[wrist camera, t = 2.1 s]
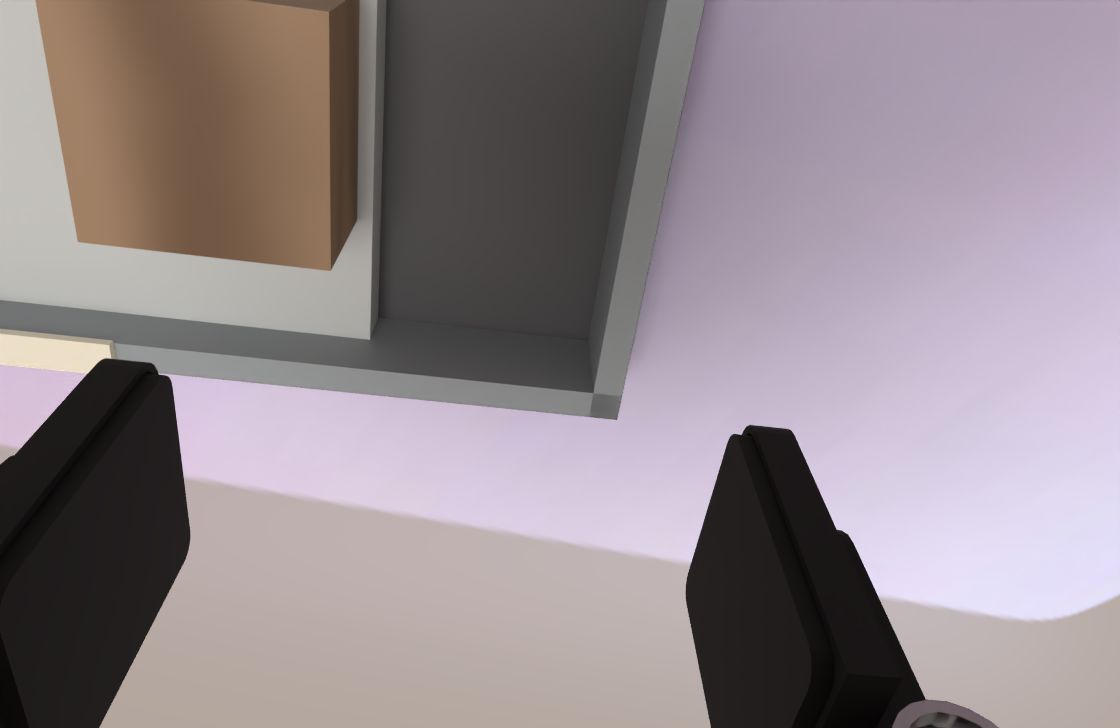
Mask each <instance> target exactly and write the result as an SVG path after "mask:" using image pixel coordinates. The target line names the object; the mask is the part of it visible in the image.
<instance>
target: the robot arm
mask: <svg viewBox="0 0 1120 728" xmlns="http://www.w3.org/2000/svg"><path fill="white" fill-rule="evenodd" d="M189 544H190V526H189V518H188V510H187V502H186V493H185V485H184V477H183V469H182V461H181V453H180V445H179V436H178V428H177V420H176V412H175V404H174V396H173V388H172V383H171V380H170V378H169V377H168V376H165V375H159V374H158V370H157V368H156V367H155V365H154V364H152V363H149V362H139V361H129V360H120V359H110V358H105V359H102V360H100V361H99V362H98V363H97V364H96V365H95V366H94V367H93V368H92V369H91V371H90V372H89V373H88V374H87V375H86V376H85V377H84V378H83V380H82V381H81V382H80V383H79V384H78V385H77V386H76V387H75V388H74V390H73V391H72V392H71V393H70V394H69V395H68V396H67V397H66V399H65V400H64V401H63V402H62V403H61V404H60V405H59V406H58V407H57V409H56V410H55V411H54V412H53V413H52V414H51V415H50V416H49V417H48V419H47V420H46V421H45V422H44V423H43V424H42V425H41V426H40V428H39V429H38V430H37V431H36V432H35V433H34V434H33V435H32V436H31V438H30V439H29V440H28V441H27V442H26V443H25V444H24V445H23V447H22V448H21V449H20V450H19V451H18V452H17V453H16V454H15V455H14V456H10V457H9V458H8V459H7V460H5V461H4V462H3V463H2V464H0V728H99V727H100V725H101V723H102V721H103V719H104V717H105V715H106V713H107V711H108V709H109V707H110V705H111V703H112V702H113V699H114V698H115V696H116V694H117V692H118V690H119V688H120V686H121V684H122V682H123V680H124V678H125V676H126V674H127V672H128V670H129V668H130V666H131V665H132V663H133V661H134V659H135V657H136V655H137V653H138V651H139V649H140V647H141V645H142V643H143V641H144V639H145V637H146V635H147V633H148V631H149V629H150V627H151V626H152V624H153V622H154V620H155V618H156V616H157V613H158V612H159V610H160V608H161V606H162V604H163V602H164V600H165V598H166V596H167V594H168V593H169V590H170V589H171V587H172V585H173V583H174V581H175V579H176V577H177V575H178V573H179V571H180V569H181V567H182V565H183V563H184V561H185V559H186V556H187V553H188V549H189ZM686 602H687V608H688V613H689V617H690V623H691V628H692V634H693V638H694V644H695V649H696V654H697V658H698V664H699V669H700V674H701V679H702V684H703V689H704V694H705V699H706V704H707V709H708V714H709V719H710V724H711V728H998V727H997V726H996V725H995V724H993V723H992V722H991V721H989V720H988V719H986V718H984V717H982V716H980V715H979V714H977V713H975V712H974V711H972V710H970V709H968V708H965V707H962V706H959V705H956V704H953V703H950V702H947V701H937V700H926V699H925V697H924V695H923V693H922V690H921V688H920V686H919V684H918V682H917V680H916V677H915V675H914V673H913V671H912V669H911V667H910V665H909V662H908V660H907V658H906V656H905V654H904V651H903V649H902V647H901V645H900V643H899V641H898V639H897V636H896V634H895V632H894V630H893V628H892V626H891V624H890V622H889V619H888V617H887V615H886V613H885V610H884V608H883V606H882V604H881V602H880V600H879V597H878V595H877V593H876V591H875V589H874V587H873V584H872V582H871V580H870V578H869V576H868V574H867V571H866V569H865V567H864V565H863V563H862V561H861V558H860V556H859V554H858V552H857V550H856V548H855V546H854V543H853V542H852V540H851V539H850V537H849V536H848V534H846V533H845V532H843V531H841V530H836V527H835V525H834V523H833V521H832V518H831V516H830V514H829V512H828V509H827V507H826V505H825V503H824V501H823V498H822V496H821V494H820V492H819V489H818V487H817V485H816V483H815V480H814V478H813V476H812V474H811V471H810V469H809V467H808V465H807V462H806V460H805V458H804V456H803V453H802V451H801V449H800V447H799V445H798V442H797V440H796V438H795V436H794V434H793V432H792V431H791V430H789V429H783V428H773V427H763V426H754V425H749V426H747V427H746V428H745V430H744V431H743V434H742V435H738V434H733V435H731V437H730V438H729V441H728V443H727V446H726V450H725V453H724V456H723V460H722V463H721V466H720V470H719V473H718V476H717V480H716V483H715V486H714V490H713V493H712V496H711V499H710V503H709V506H708V509H707V513H706V516H705V519H704V523H703V526H702V529H701V533H700V536H699V539H698V543H697V546H696V549H695V553H694V556H693V559H692V563H691V566H690V569H689V573H688V577H687V583H686Z"/></svg>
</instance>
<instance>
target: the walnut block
mask: <svg viewBox="0 0 1120 728" xmlns="http://www.w3.org/2000/svg"><path fill="white" fill-rule="evenodd" d="M35 1H36V7H37V13H38V18H39V24H40V30H41V35H42V41H43V47H44V52H45V58H46V64H47V69H48V75H49V81H50V86H51V92H52V98H53V104H54V109H55V115H56V121H57V126H58V132H59V138H60V143H61V149H62V155H63V160H64V166H65V172H66V177H67V183H68V189H69V195H70V200H71V206H72V212H73V217H74V223H75V229H76V234H77V240H78V242H81V243H89V244H98V245H107V246H116V247H124V248H133V249H142V250H151V251H159V252H168V253H177V254H186V255H194V256H203V257H212V258H220V259H229V260H238V261H247V262H255V263H264V264H273V265H282V266H290V267H299V268H308V269H317V270H325V271H331V270H332V268H333V266H334V264H335V262H336V260H337V258H338V256H339V254H340V252H341V250H342V249H343V247H344V245H345V243H346V241H347V239H348V237H349V235H350V233H351V231H352V229H353V227H354V225H355V224H356V222H357V197H358V106H359V16H360V0H35Z"/></svg>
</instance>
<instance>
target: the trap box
mask: <svg viewBox="0 0 1120 728" xmlns="http://www.w3.org/2000/svg"><path fill="white" fill-rule="evenodd" d="M704 3H705V0H360V16H359V106H358V197H357V222H356V224H355V225H354V227H353V229H352V231H351V233H350V235H349V237H348V239H347V241H346V243H345V245H344V247H343V249H342V250H341V252H340V254H339V256H338V258H337V260H336V262H335V264H334V266H333V268H332V270H331V271H325V270H317V269H308V268H299V267H290V266H282V265H273V264H264V263H255V262H247V261H238V260H229V259H220V258H212V257H203V256H194V255H186V254H177V253H168V252H159V251H151V250H142V249H133V248H124V247H116V246H107V245H98V244H89V243H81V242H78V240H77V234H76V229H75V223H74V217H73V212H72V206H71V200H70V195H69V189H68V183H67V177H66V172H65V166H64V160H63V155H62V149H61V143H60V138H59V132H58V126H57V121H56V115H55V109H54V104H53V98H52V92H51V86H50V81H49V75H48V69H47V64H46V58H45V52H44V47H43V41H42V35H41V30H40V24H39V18H38V13H37V7H36V1H35V0H0V365H9V366H19V367H29V368H39V369H49V370H58V371H68V372H78V373H89V372H90V371H91V369H92V368H93V367H94V366H95V365H96V364H97V363H98V362H99V361H100V360H102V359H105V358H110V359H120V360H129V361H139V362H149V363H152V364H154V365H155V367H156V368H157V370H158V373H163V374H173V375H183V376H192V377H202V378H212V379H222V380H232V381H241V382H251V383H261V384H271V385H281V386H290V387H300V388H310V389H320V390H330V391H339V392H349V393H359V394H369V395H379V396H389V397H398V398H408V399H418V400H428V401H438V402H447V403H457V404H467V405H477V406H487V407H496V408H506V409H516V410H526V411H536V412H546V413H555V414H565V415H575V416H585V417H595V418H604V419H614V420H617V417H618V412H619V408H620V403H621V398H622V393H623V389H624V384H625V379H626V374H627V370H628V365H629V360H630V355H631V351H632V346H633V341H634V336H635V331H636V327H637V322H638V317H639V312H640V308H641V303H642V298H643V293H644V289H645V284H646V279H647V274H648V270H649V265H650V260H651V255H652V251H653V246H654V241H655V236H656V232H657V227H658V222H659V217H660V212H661V208H662V203H663V198H664V193H665V189H666V184H667V179H668V174H669V170H670V165H671V160H672V155H673V151H674V146H675V141H676V136H677V132H678V127H679V122H680V117H681V113H682V108H683V103H684V98H685V93H686V89H687V84H688V79H689V74H690V70H691V65H692V60H693V55H694V51H695V46H696V41H697V36H698V32H699V27H700V22H701V17H702V13H703V8H704Z"/></svg>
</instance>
